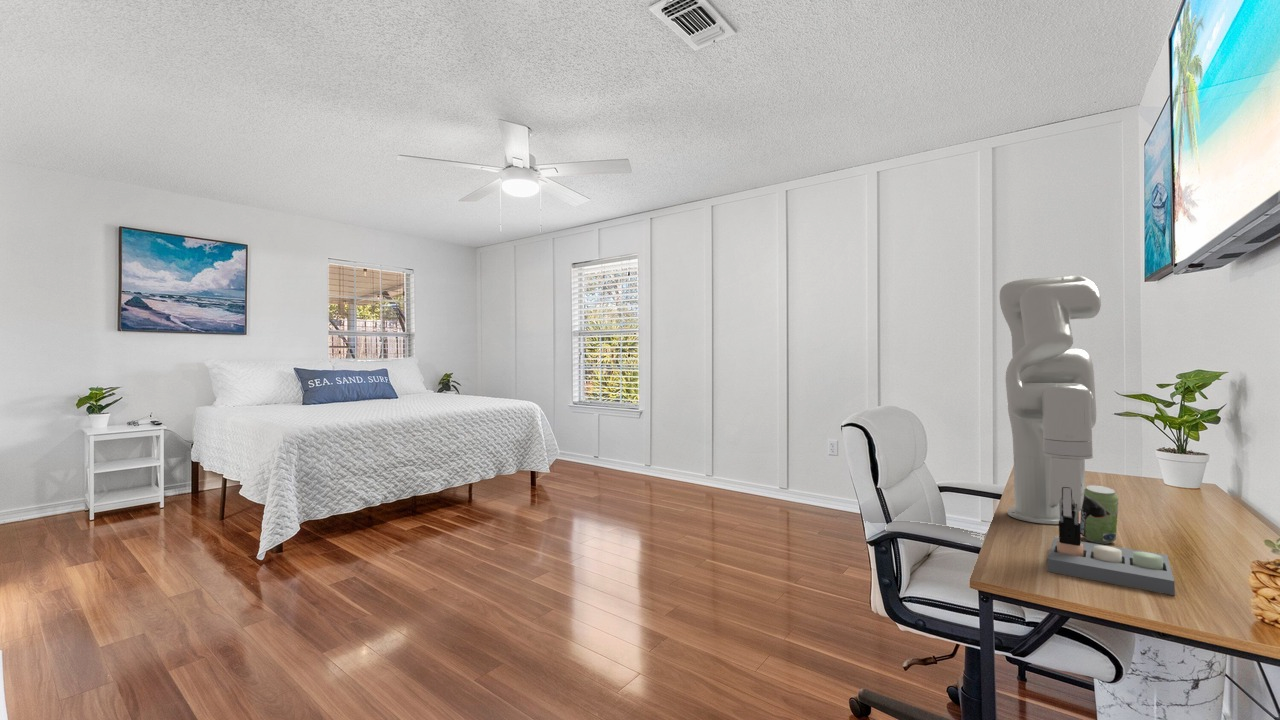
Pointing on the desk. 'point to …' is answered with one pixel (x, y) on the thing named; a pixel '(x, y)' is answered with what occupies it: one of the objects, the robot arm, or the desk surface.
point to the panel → (1112, 569)
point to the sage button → (1147, 560)
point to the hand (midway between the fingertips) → (1070, 543)
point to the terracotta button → (1070, 549)
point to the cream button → (1107, 554)
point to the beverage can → (1099, 514)
